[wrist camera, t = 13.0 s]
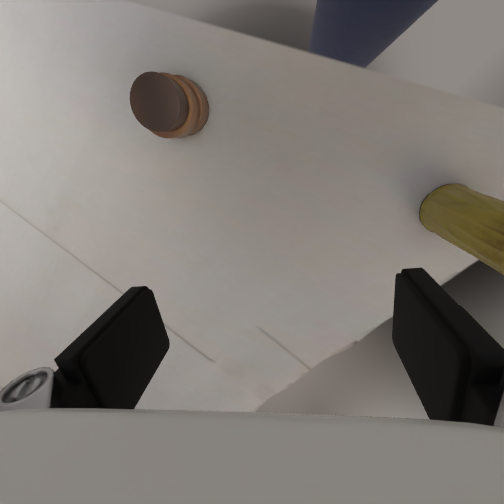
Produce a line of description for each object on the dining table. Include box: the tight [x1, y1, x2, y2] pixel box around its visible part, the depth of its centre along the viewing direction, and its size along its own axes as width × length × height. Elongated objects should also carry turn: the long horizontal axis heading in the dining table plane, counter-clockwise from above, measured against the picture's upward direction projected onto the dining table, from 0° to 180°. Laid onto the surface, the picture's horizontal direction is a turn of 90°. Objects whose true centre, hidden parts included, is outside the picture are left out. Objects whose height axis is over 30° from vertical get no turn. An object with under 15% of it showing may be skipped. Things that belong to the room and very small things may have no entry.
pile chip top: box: [150, 73, 200, 138], centre depth 29 cm, size 6×6×2 cm
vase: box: [420, 184, 504, 275], centre depth 26 cm, size 6×6×14 cm
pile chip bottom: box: [173, 75, 209, 136], centre depth 31 cm, size 6×6×2 cm
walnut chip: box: [130, 72, 189, 132], centre depth 26 cm, size 5×5×2 cm
